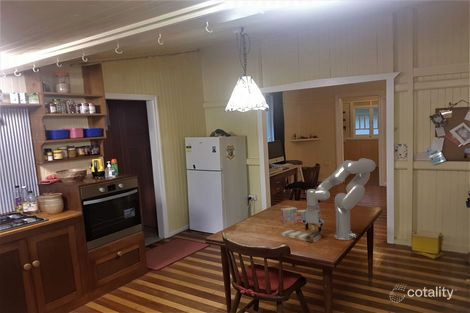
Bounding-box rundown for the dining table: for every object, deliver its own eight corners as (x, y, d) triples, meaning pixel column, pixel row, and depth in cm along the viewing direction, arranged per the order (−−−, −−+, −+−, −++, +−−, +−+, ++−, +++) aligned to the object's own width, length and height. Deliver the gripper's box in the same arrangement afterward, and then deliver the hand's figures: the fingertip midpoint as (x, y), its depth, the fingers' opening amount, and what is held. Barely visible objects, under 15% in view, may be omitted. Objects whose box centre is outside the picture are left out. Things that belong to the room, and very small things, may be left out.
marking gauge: (321, 236, 237) (320, 222, 236) (312, 242, 226) (311, 227, 225) (314, 235, 240) (314, 221, 239) (305, 240, 230) (305, 226, 229)
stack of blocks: (305, 220, 281) (304, 205, 280) (308, 222, 275) (307, 207, 274) (281, 222, 277) (280, 208, 276) (283, 224, 271) (283, 210, 270)
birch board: (320, 237, 235) (320, 235, 235) (314, 242, 228) (314, 239, 227) (288, 232, 252) (288, 229, 252) (281, 235, 244) (281, 232, 244)
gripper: (326, 207, 229) (327, 231, 230) (304, 204, 240) (304, 227, 241) (321, 209, 223) (322, 234, 224) (298, 206, 234) (299, 230, 235)
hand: (313, 230), depth 233 cm, fingers open, 9 cm apart
